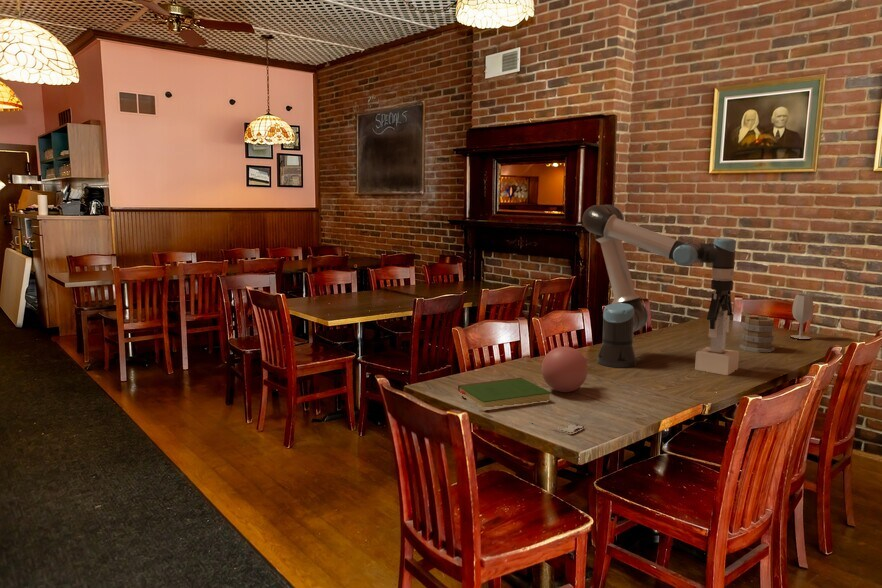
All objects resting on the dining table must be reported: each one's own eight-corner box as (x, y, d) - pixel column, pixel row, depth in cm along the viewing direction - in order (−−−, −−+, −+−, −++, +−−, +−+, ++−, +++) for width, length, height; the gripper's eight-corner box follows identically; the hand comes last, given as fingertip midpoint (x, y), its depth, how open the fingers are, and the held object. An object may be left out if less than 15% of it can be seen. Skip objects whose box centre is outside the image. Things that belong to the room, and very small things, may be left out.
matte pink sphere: (606, 391, 212) (608, 347, 210) (562, 400, 201) (564, 354, 199) (574, 380, 225) (575, 338, 222) (531, 389, 214) (532, 345, 212)
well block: (727, 375, 231) (728, 357, 230) (694, 369, 239) (695, 351, 238) (737, 369, 240) (739, 351, 239) (706, 363, 248) (707, 346, 247)
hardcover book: (521, 387, 217) (521, 377, 217) (550, 403, 200) (550, 392, 200) (456, 396, 208) (456, 385, 207) (481, 413, 191) (481, 401, 190)
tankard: (778, 353, 266) (781, 318, 264) (748, 352, 266) (751, 318, 264) (756, 342, 286) (758, 310, 284) (728, 342, 286) (730, 310, 284)
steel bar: (720, 363, 236) (724, 311, 233) (709, 361, 239) (713, 310, 236) (724, 361, 239) (727, 310, 236) (713, 359, 242) (716, 308, 239)
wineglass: (785, 337, 297) (788, 294, 294) (799, 336, 300) (803, 293, 297) (800, 341, 289) (804, 296, 286) (815, 340, 291) (819, 295, 288)
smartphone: (541, 415, 186) (585, 426, 176) (541, 419, 187) (585, 430, 176) (526, 421, 181) (571, 433, 171) (526, 425, 181) (571, 437, 171)
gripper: (721, 283, 223) (717, 341, 226) (743, 277, 241) (739, 330, 244) (700, 281, 228) (696, 338, 231) (723, 275, 246) (719, 328, 249)
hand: (718, 334), depth 238 cm, fingers open, 13 cm apart
